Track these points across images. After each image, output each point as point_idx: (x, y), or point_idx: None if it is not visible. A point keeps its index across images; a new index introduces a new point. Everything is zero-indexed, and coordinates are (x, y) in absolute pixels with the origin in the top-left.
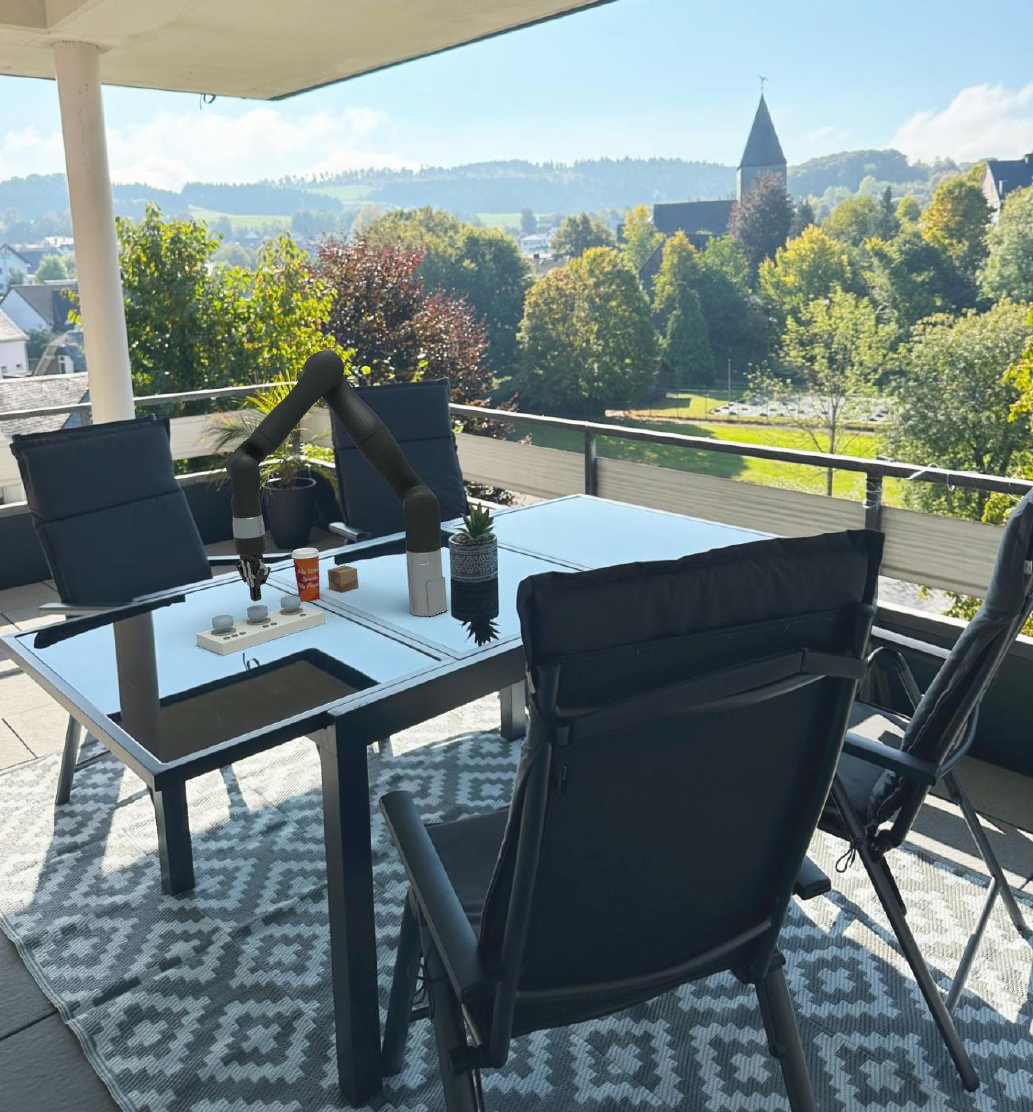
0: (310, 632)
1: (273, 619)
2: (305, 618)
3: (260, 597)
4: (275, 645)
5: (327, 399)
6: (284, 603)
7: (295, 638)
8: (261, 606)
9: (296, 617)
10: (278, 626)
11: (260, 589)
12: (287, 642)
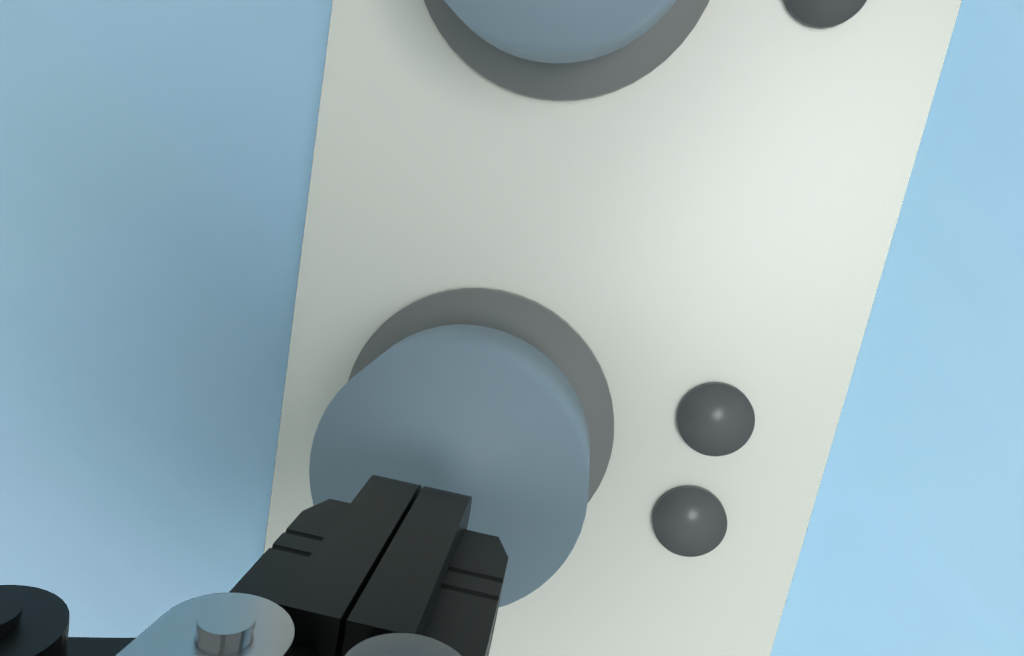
0: (996, 136)
1: (577, 286)
2: (943, 62)
3: (498, 557)
4: (903, 583)
5: None
6: (577, 49)
7: (961, 355)
8: (441, 401)
9: (800, 94)
10: (827, 456)
11: (487, 641)
12: (961, 477)
